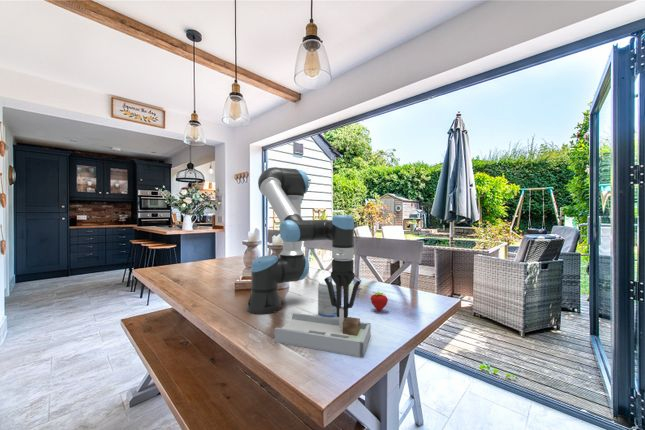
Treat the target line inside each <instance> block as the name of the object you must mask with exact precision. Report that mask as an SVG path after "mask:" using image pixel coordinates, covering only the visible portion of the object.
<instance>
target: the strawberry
mask: <svg viewBox="0 0 645 430" xmlns="http://www.w3.org/2000/svg"><path fill="white" fill-rule="evenodd" d="M370 302H371V304H372V306H373V307H374V308H375V310H376V311H377V312H379V313H380V312H382V310H383V309H384V308H385V307H386V305H387V304H388V302H389V300H388V297H387V296H386V294H383V292H380V291H377V292H373V294H372V295H371V296H370Z"/></svg>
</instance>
